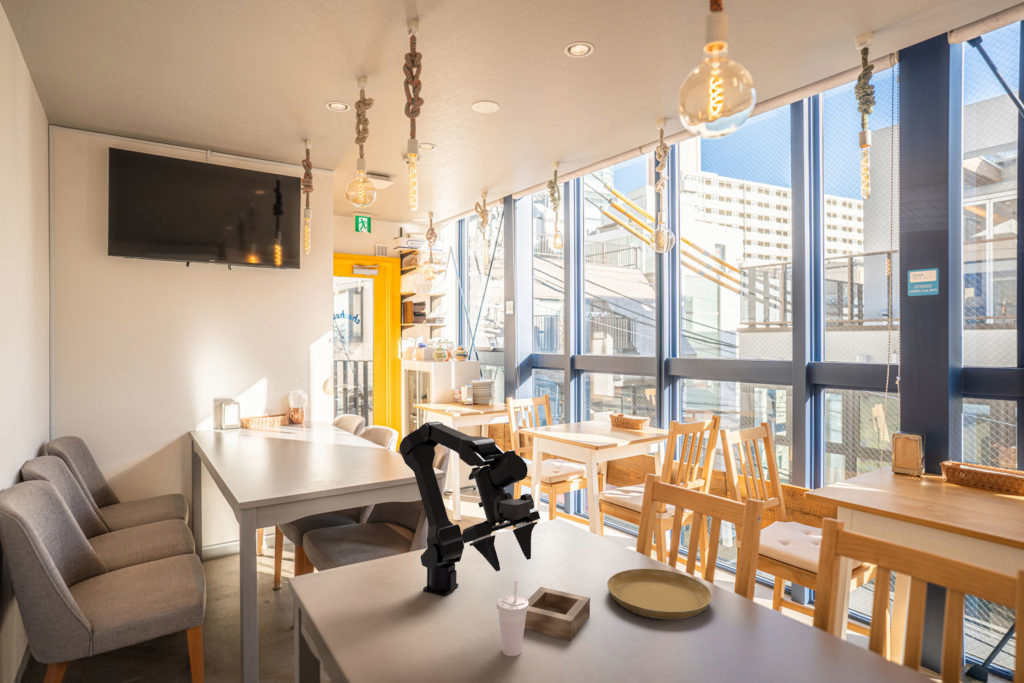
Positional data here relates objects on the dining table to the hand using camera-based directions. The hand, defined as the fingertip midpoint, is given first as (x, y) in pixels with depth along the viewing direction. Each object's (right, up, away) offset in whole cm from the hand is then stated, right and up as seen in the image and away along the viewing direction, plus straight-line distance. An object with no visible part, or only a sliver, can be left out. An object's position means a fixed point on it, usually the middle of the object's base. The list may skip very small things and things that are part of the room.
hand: (514, 565), depth 121 cm
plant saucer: (+34, -14, +14) cm, 40 cm away
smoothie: (0, -13, -9) cm, 16 cm away
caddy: (+9, -13, +3) cm, 16 cm away
